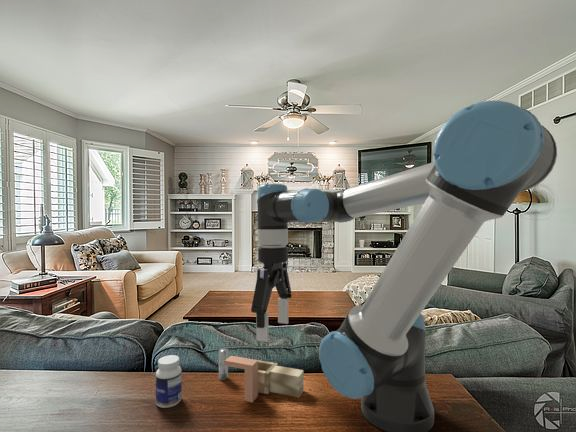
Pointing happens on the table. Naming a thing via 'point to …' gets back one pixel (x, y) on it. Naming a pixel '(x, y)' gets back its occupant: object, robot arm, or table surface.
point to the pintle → (223, 369)
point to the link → (279, 379)
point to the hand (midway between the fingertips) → (273, 331)
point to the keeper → (246, 374)
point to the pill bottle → (168, 382)
